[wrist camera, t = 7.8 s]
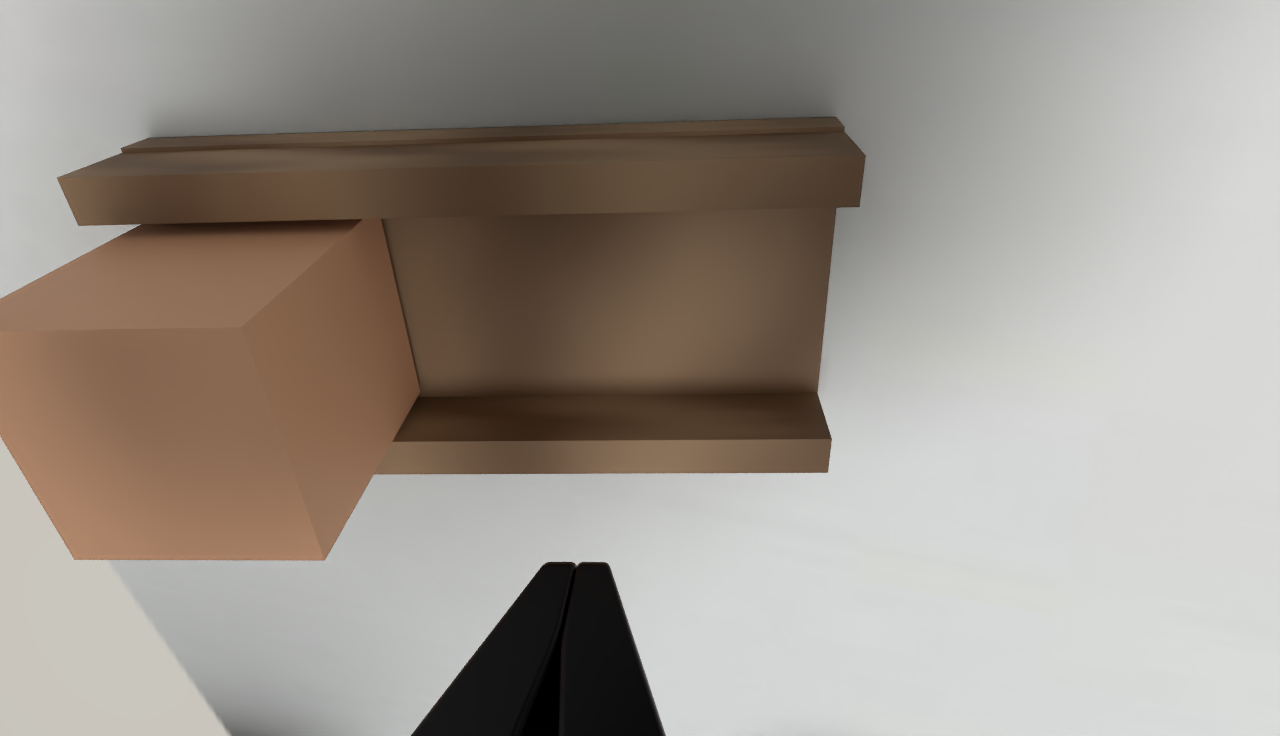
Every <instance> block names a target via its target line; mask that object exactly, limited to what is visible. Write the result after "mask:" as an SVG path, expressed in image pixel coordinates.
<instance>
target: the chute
mask: <svg viewBox="0 0 1280 736" xmlns="http://www.w3.org/2000/svg"><path fill="white" fill-rule="evenodd" d="M844 128H845V126H844V125H843V124H842V123H841V122H840V121H839V120H838V119H837V118H836V117H812V118H779V119H747V120H714V121H682V122H650V123H617V124H585V125H552V126H520V127H487V128H455V129H422V130H390V131H357V132H325V133H292V134H260V135H227V136H195V137H162V138H147V139H145V140H142V141H139V142H136V143H134V144H131V145H128V146H126V147H123V148H121V150H122V153H121V154H118V155H116V156H113V157H110V158H108V159H105V160H102V161H100V162H97V163H95V164H92V165H89V166H87V167H84V168H81V169H79V170H76V171H74V172H71V173H68V174H66V175H63V176H60V177H58V178H57V179H58V181H59V184H60V186H61V188H62V190H63V193H64V195H65V197H66V199H67V201H68V204H69V206H70V208H71V210H72V212H73V215H74V217H75V219H76V221H77V224H78V226H86V225H128V224H170V223H212V222H254V221H295V220H337V219H379V218H381V221H382V226H383V230H384V234H385V239H386V243H387V248H388V252H389V256H390V261H391V265H392V269H393V274H394V278H395V283H396V287H397V291H398V296H399V300H400V304H401V309H402V313H403V318H404V322H405V326H406V331H407V335H408V339H409V344H410V348H411V353H412V357H413V361H414V366H415V370H416V374H417V379H418V383H419V388H420V393H419V395H418V397H417V399H416V400H415V402H414V404H413V406H412V407H411V409H410V411H409V413H408V414H407V416H406V418H405V420H404V422H403V423H402V425H401V427H400V429H399V430H398V432H397V434H396V436H395V437H394V439H393V441H392V443H391V445H390V446H389V448H388V450H387V452H386V453H385V455H384V457H383V459H382V460H381V462H380V464H379V466H378V467H377V469H376V471H375V473H374V474H586V473H828V466H829V458H830V449H831V441H832V438H831V435H830V432H829V429H828V426H827V423H826V419H825V416H824V413H823V410H822V407H821V404H820V400H819V397H818V394H817V391H818V381H819V372H820V362H821V352H822V342H823V333H824V323H825V313H826V303H827V294H828V284H829V274H830V264H831V255H832V245H833V235H834V225H835V215H836V208H839V207H859V206H860V198H861V189H862V181H863V173H864V164H865V156H866V155H865V154H864V153H863V152H862V151H861V150H860V149H859V148H858V146H857V145H856V144H855V143H854V142H853V141H852V140H851V139H850V137H849V136H848V135H847V134H846V133H845V132H844Z"/></svg>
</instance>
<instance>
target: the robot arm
mask: <svg viewBox="0 0 1280 736" xmlns="http://www.w3.org/2000/svg"><path fill="white" fill-rule="evenodd" d="M411 736H666V735H665V732H664V729H663V726H662V723H661V720H660V717H659V714H658V711H657V708H656V705H655V702H654V699H653V696H652V693H651V690H650V687H649V683H648V680H647V677H646V674H645V671H644V668H643V665H642V662H641V659H640V656H639V653H638V650H637V647H636V644H635V641H634V638H633V635H632V632H631V629H630V626H629V623H628V620H627V617H626V614H625V611H624V608H623V605H622V602H621V599H620V596H619V593H618V590H617V587H616V584H615V581H614V578H613V574H612V571H611V568H610V566H609V565H608V564H607V563H605V562H581V563H579V564H578V566H576V564H575V563H573V562H547V563H545V564H544V565H543V566H542V567H541V568H540V570H539V571H538V572H537V574H536V575H535V576H534V577H533V579H532V580H531V581H530V583H529V584H528V585H527V586H526V588H525V589H524V590H523V592H522V593H521V594H520V595H519V597H518V598H517V599H516V601H515V602H514V603H513V605H512V606H511V607H510V608H509V610H508V611H507V612H506V614H505V615H504V616H503V617H502V619H501V620H500V621H499V623H498V624H497V625H496V626H495V628H494V629H493V630H492V632H491V633H490V634H489V635H488V637H487V638H486V639H485V641H484V642H483V643H482V645H481V646H480V647H479V648H478V650H477V651H476V652H475V654H474V655H473V656H472V657H471V659H470V660H469V661H468V663H467V664H466V665H465V666H464V668H463V669H462V670H461V672H460V673H459V674H458V675H457V677H456V678H455V679H454V681H453V682H452V683H451V685H450V686H449V687H448V688H447V690H446V691H445V692H444V694H443V695H442V696H441V697H440V699H439V700H438V701H437V703H436V704H435V705H434V706H433V708H432V709H431V710H430V712H429V713H428V714H427V715H426V717H425V718H424V719H423V721H422V722H421V723H420V725H419V726H418V727H417V728H416V730H415V731H414V732H413V734H412V735H411Z"/></svg>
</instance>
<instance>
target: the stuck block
mask: <svg viewBox="0 0 1280 736" xmlns="http://www.w3.org/2000/svg"><path fill="white" fill-rule="evenodd" d="M419 393H420V388H419V383H418V379H417V374H416V370H415V366H414V361H413V357H412V353H411V348H410V344H409V339H408V335H407V331H406V326H405V322H404V318H403V313H402V309H401V304H400V300H399V296H398V291H397V287H396V283H395V278H394V274H393V269H392V265H391V261H390V256H389V252H388V248H387V243H386V239H385V234H384V230H383V226H382V221H381V218H379V219H337V220H295V221H254V222H212V223H170V224H141V225H139V226H137V227H135V228H134V229H132V230H130V231H128V232H126V233H124V234H122V235H120V236H118V237H117V238H115V239H113V240H111V241H109V242H107V243H105V244H103V245H101V246H100V247H98V248H96V249H94V250H92V251H90V252H88V253H86V254H84V255H82V256H81V257H79V258H77V259H75V260H73V261H71V262H69V263H67V264H65V265H64V266H62V267H60V268H58V269H56V270H54V271H52V272H50V273H48V274H46V275H45V276H43V277H41V278H39V279H37V280H35V281H33V282H31V283H29V284H28V285H26V286H24V287H22V288H20V289H18V290H16V291H14V292H12V293H11V294H9V295H7V296H5V297H3V298H1V299H0V436H1V438H2V440H3V441H4V443H5V445H6V446H7V448H8V450H9V451H10V453H11V455H12V456H13V458H14V459H15V461H16V463H17V465H18V466H19V468H20V470H21V471H22V473H23V475H24V476H25V478H26V480H27V481H28V483H29V485H30V486H31V488H32V490H33V491H34V493H35V495H36V496H37V498H38V500H39V501H40V503H41V505H42V506H43V508H44V509H45V511H46V513H47V514H48V516H49V518H50V520H51V521H52V523H53V525H54V526H55V528H56V529H57V531H58V533H59V534H60V536H61V538H62V539H63V541H64V543H65V544H66V546H67V548H68V549H69V551H70V553H71V554H72V556H73V558H74V559H75V560H325V559H326V557H327V556H328V554H329V552H330V550H331V549H332V547H333V545H334V543H335V542H336V540H337V538H338V536H339V535H340V533H341V531H342V529H343V527H344V526H345V524H346V522H347V520H348V519H349V517H350V515H351V513H352V512H353V510H354V508H355V506H356V505H357V503H358V501H359V499H360V497H361V496H362V494H363V492H364V490H365V489H366V487H367V485H368V483H369V482H370V480H371V478H372V476H373V475H374V473H375V471H376V469H377V467H378V466H379V464H380V462H381V460H382V459H383V457H384V455H385V453H386V452H387V450H388V448H389V446H390V445H391V443H392V441H393V439H394V437H395V436H396V434H397V432H398V430H399V429H400V427H401V425H402V423H403V422H404V420H405V418H406V416H407V414H408V413H409V411H410V409H411V407H412V406H413V404H414V402H415V400H416V399H417V397H418V395H419Z"/></svg>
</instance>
